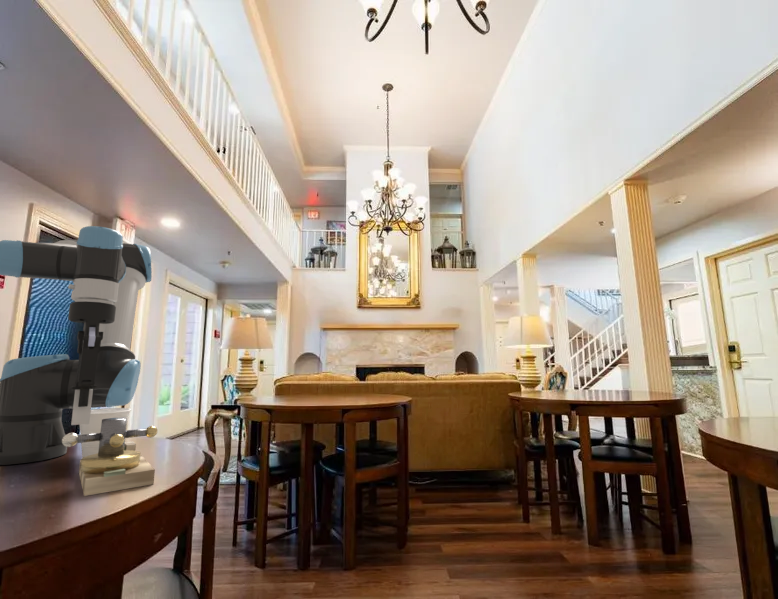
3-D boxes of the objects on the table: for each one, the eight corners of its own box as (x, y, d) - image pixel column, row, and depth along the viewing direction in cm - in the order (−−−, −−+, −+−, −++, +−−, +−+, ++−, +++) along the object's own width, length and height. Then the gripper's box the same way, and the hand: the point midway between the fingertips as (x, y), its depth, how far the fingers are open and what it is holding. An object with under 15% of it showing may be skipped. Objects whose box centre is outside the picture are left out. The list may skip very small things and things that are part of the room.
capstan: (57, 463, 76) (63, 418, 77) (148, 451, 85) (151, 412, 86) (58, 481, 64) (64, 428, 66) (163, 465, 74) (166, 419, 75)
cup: (98, 469, 82) (104, 413, 84) (59, 466, 84) (65, 412, 86) (137, 457, 92) (141, 408, 93) (101, 455, 94) (106, 407, 95)
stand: (78, 472, 79) (81, 447, 80) (137, 464, 86) (139, 440, 86) (84, 496, 66) (87, 464, 66) (153, 484, 72) (155, 455, 73)
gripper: (69, 305, 83) (54, 422, 80) (71, 296, 74) (55, 430, 70) (112, 308, 88) (101, 418, 84) (120, 300, 78) (107, 425, 74)
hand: (80, 423), depth 77 cm, fingers closed
